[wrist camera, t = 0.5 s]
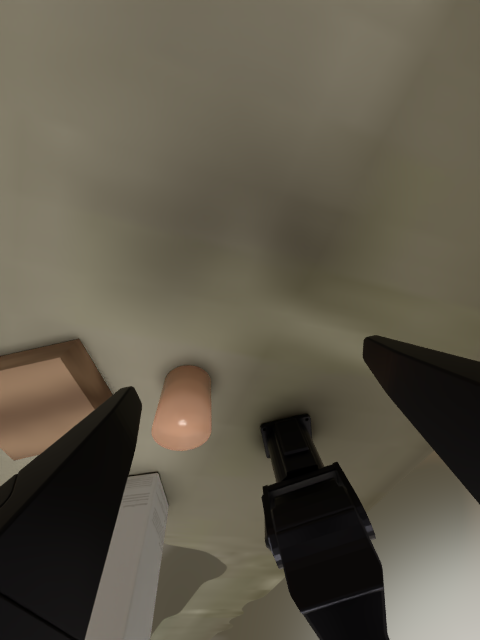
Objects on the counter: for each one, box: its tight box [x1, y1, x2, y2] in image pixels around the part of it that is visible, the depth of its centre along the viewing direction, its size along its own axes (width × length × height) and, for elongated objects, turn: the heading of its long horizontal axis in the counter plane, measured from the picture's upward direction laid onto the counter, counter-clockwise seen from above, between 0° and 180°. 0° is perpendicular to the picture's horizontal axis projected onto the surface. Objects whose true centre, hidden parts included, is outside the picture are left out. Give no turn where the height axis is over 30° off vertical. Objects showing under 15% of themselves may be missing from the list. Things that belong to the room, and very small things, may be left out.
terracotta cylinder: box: [152, 365, 211, 451], centre depth 22 cm, size 5×5×6 cm
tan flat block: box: [0, 339, 112, 460], centre depth 21 cm, size 10×10×3 cm
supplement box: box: [85, 473, 169, 640], centre depth 25 cm, size 9×9×15 cm
